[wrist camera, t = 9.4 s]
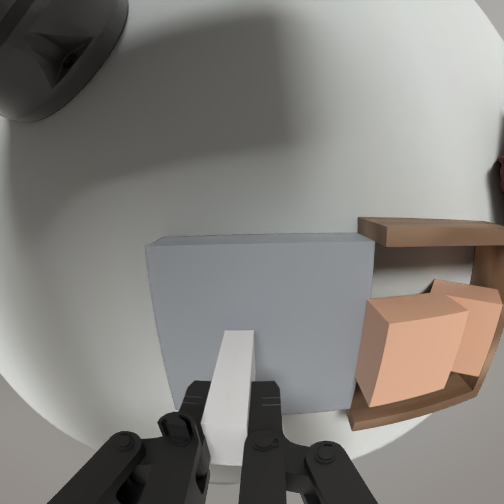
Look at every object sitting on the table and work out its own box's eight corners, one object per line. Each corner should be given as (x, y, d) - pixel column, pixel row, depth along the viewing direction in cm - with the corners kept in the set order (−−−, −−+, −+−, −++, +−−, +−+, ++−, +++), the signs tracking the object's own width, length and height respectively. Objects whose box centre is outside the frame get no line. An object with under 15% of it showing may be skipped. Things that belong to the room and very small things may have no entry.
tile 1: (366, 299, 15) (389, 323, 12) (440, 291, 15) (468, 310, 11) (354, 375, 16) (369, 407, 13) (423, 363, 16) (443, 388, 13)
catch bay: (358, 217, 17) (387, 226, 12) (485, 221, 16) (522, 230, 12) (339, 392, 20) (352, 431, 15) (453, 370, 19) (476, 396, 15)
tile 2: (502, 304, 11) (497, 289, 14) (430, 292, 15) (434, 279, 17) (478, 376, 13) (479, 354, 15) (414, 362, 16) (421, 342, 18)
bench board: (163, 237, 17) (145, 246, 15) (357, 232, 17) (375, 241, 14) (185, 385, 20) (175, 409, 17) (341, 383, 19) (349, 408, 17)
